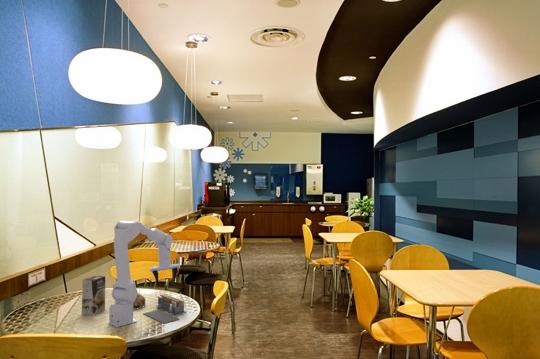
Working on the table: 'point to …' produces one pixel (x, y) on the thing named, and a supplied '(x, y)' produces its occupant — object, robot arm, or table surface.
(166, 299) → the rail
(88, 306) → the coffee box
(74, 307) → the table surface
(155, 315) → the mat
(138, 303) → the bread roll
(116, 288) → the robot arm
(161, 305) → the stand
